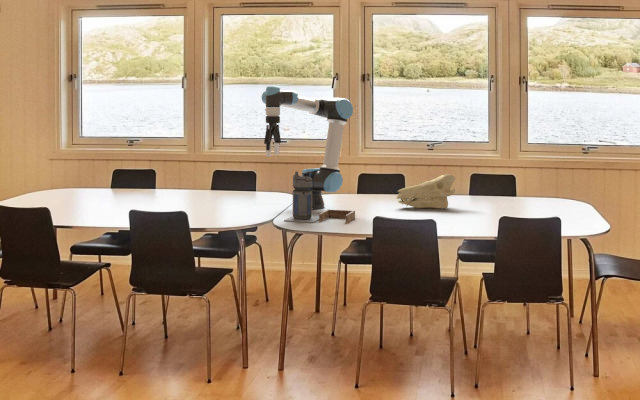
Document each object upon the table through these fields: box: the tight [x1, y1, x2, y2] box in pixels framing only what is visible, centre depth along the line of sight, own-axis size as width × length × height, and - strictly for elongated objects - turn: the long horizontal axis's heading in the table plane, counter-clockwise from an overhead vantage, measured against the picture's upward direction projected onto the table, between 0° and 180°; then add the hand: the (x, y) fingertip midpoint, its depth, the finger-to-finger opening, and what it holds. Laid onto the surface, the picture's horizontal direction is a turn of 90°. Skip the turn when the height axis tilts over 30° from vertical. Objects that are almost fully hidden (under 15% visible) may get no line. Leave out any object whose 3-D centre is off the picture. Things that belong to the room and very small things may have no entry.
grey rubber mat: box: [283, 215, 319, 224], centre depth 394 cm, size 18×16×1 cm
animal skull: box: [395, 173, 456, 209], centre depth 445 cm, size 15×35×20 cm, turn 99°
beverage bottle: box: [292, 171, 313, 220], centre depth 393 cm, size 10×13×25 cm
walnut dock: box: [318, 209, 356, 224], centre depth 395 cm, size 18×15×4 cm
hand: (272, 155), depth 400 cm, fingers open, 13 cm apart
